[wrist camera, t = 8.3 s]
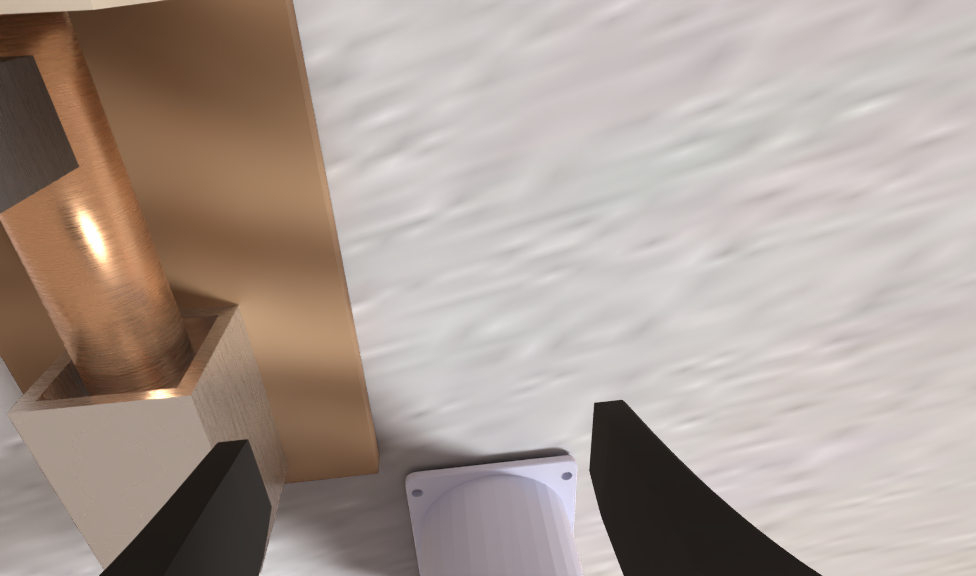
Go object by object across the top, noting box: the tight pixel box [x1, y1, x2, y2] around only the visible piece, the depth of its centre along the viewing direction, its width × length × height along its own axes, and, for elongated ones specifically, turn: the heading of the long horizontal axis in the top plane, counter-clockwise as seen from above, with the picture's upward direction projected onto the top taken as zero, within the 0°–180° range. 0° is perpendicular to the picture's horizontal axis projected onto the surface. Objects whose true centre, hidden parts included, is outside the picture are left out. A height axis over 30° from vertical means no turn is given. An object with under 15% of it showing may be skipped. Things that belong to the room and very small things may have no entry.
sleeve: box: [6, 305, 288, 573], centre depth 19 cm, size 8×5×5 cm, turn 2°
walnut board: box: [0, 0, 379, 484], centre depth 19 cm, size 23×12×1 cm, turn 2°
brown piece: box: [0, 11, 196, 396], centre depth 13 cm, size 14×3×6 cm, turn 2°
